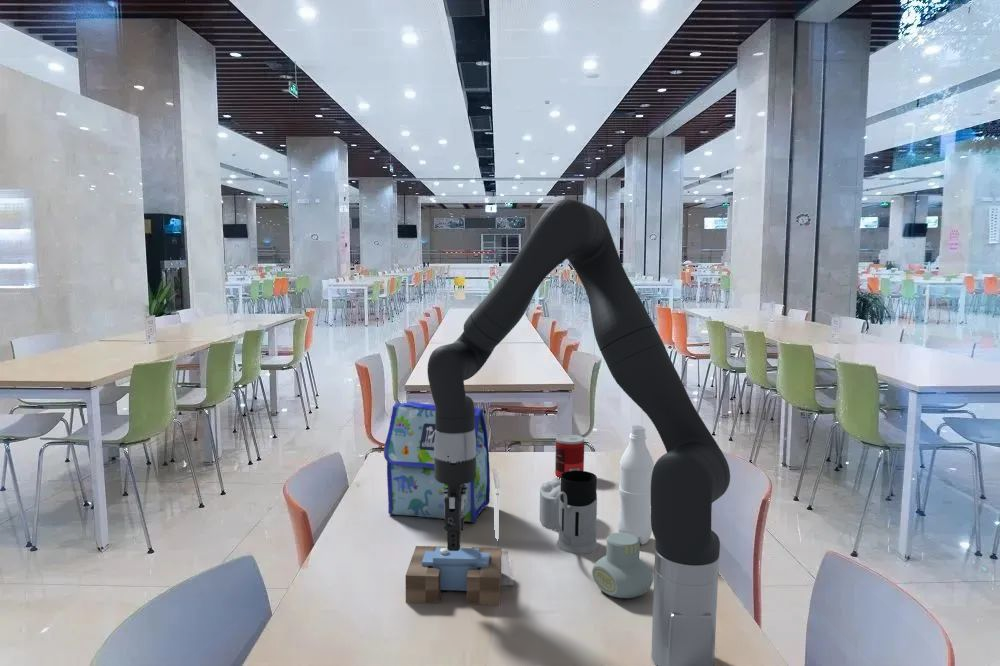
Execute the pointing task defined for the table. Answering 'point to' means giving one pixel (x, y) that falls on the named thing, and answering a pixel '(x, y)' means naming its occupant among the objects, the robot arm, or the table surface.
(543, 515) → the lumpy-topped squat cylinder
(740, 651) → the table surface
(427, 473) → the lunch bag
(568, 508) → the glass holder
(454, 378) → the robot arm
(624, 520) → the water bottle
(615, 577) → the air freshener
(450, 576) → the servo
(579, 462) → the canned food
